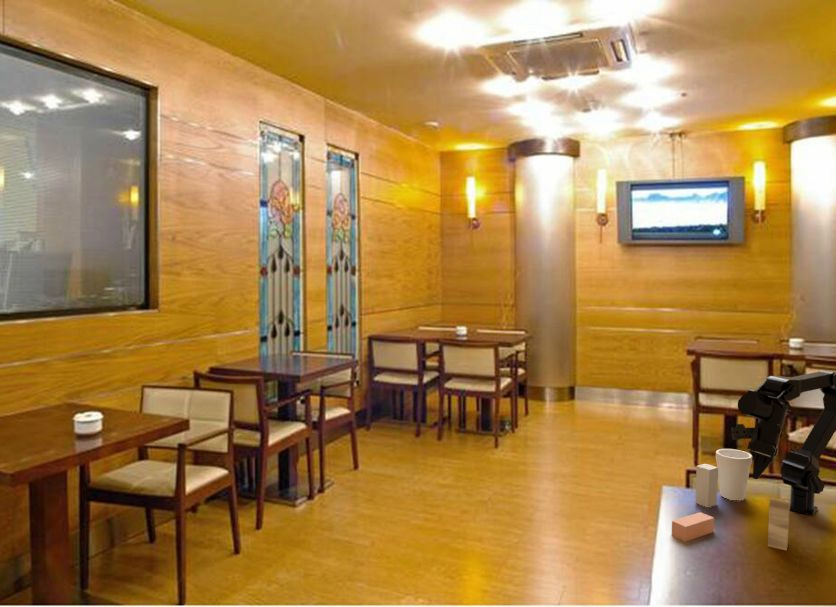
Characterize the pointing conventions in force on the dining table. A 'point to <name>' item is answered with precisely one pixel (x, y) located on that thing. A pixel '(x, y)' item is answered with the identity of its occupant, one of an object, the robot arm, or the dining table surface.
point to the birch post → (778, 523)
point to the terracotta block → (692, 526)
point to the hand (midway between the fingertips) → (755, 478)
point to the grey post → (706, 485)
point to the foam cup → (733, 472)
